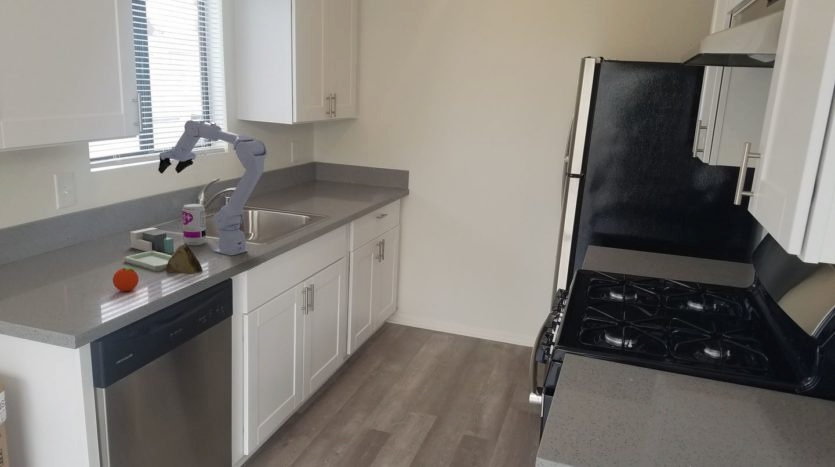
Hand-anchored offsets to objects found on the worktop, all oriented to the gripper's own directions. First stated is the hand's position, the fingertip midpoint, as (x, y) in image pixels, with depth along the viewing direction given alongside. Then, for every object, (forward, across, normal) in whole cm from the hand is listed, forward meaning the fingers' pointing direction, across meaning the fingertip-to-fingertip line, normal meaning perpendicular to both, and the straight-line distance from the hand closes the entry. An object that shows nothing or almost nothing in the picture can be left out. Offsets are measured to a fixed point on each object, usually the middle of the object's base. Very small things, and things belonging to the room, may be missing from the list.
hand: (168, 171), depth 230 cm
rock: (+1, +21, +45) cm, 50 cm away
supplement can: (+15, -6, +24) cm, 29 cm away
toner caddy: (+18, +8, +23) cm, 30 cm away
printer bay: (+21, +8, +19) cm, 29 cm away
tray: (+10, +20, +34) cm, 41 cm away
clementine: (+1, +43, +48) cm, 65 cm away
